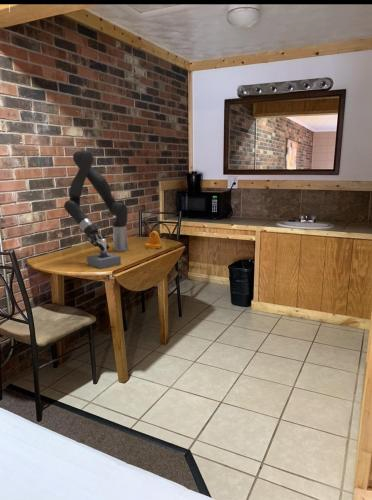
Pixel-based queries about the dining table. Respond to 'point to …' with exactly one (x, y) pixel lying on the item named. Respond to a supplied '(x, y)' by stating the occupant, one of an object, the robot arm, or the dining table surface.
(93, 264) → the socket block
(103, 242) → the steel pin
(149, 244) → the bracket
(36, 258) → the dining table surface
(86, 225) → the robot arm
